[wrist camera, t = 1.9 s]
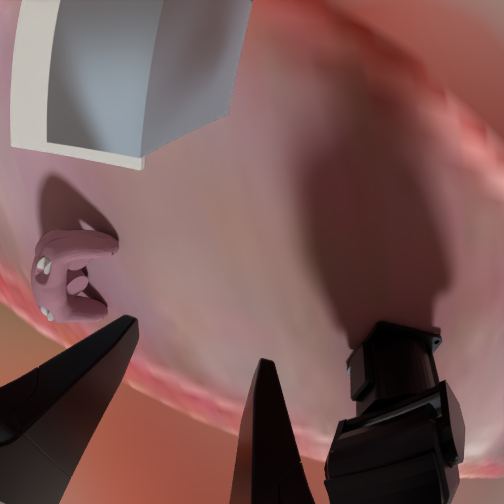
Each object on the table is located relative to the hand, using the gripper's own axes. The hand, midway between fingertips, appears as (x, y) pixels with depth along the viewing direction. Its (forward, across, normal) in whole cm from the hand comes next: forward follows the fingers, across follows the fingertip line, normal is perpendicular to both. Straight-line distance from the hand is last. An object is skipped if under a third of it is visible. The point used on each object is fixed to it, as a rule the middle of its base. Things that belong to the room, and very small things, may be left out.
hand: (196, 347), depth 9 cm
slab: (+12, +5, -8) cm, 15 cm away
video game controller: (+12, +14, +10) cm, 21 cm away
